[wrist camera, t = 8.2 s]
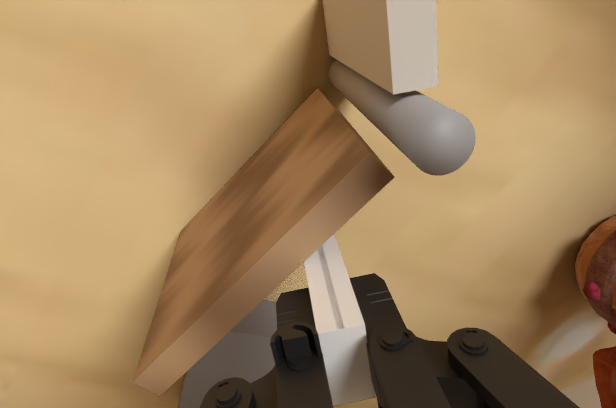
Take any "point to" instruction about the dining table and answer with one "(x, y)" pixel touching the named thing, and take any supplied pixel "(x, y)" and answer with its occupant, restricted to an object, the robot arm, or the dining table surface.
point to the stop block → (234, 356)
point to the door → (258, 234)
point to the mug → (601, 299)
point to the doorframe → (396, 77)
